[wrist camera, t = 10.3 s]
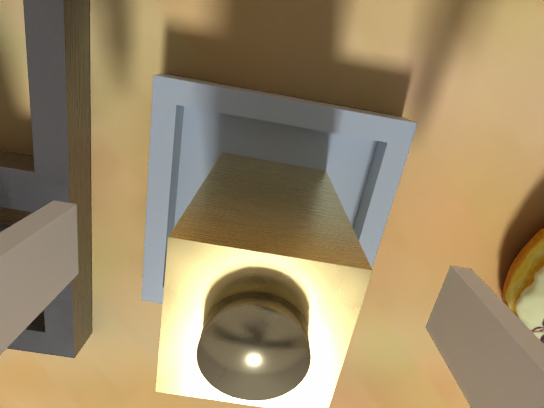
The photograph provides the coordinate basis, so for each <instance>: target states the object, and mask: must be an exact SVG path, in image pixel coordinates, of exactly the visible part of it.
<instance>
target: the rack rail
mask: <svg viewBox="0 0 544 408" xmlns="http://www.w3.org/2000/svg"><path fill="white" fill-rule="evenodd" d="M23 4H24V19H25V34H26V49H27V64H28V79H29V94H30V109H31V124H32V139H33V154H34V157H33V156H27V155H21V154H15V153H9V152H3V151H0V207H3V208H9V209H15V210H21V211H27V212H35V211H37V210H39V209H40V208H42V207H44V206H45V205H47V204H49V203H50V202H52V201H54V200H55V201H61V202H67V203H73V204H77V234H78V275H77V276H76V277H75V278H74V279H73V280H72V281H71V282H70V283H69V284H68V285H67V286H66V287H65V288H64V289H63V290H62V291H61V292H60V293H59V294H58V295H57V296H56V297H55V299H54V300H53V301H52V302H51V303H50V304H49V305H48V306H47V307H46V308H45V309H44V310H43V311H42V312H41V313H40V314H39V315H38V316H37V317H36V318H35V319H34V320H33V321H32V322H31V323H30V324H29V326H28V327H27V328H26V329H25V330H24V331H23V332H22V333H21V334H20V335H19V336H18V337H17V338H16V339H15V340H14V341H13V342H12V343H11V344H10V345H9V346H8V347H7V348H8V349H15V350H22V351H29V352H36V353H43V354H50V355H57V356H64V357H71V358H75V357H76V355H77V354H78V352H79V351H80V349H81V348H82V347H83V345H84V344H85V342H86V341H87V339H88V338H89V337H90V335H91V334H92V263H91V140H90V16H89V0H23Z"/></svg>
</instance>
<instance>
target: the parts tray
mask: <svg viewBox="0 0 544 408" xmlns="http://www.w3.org/2000/svg"><path fill="white" fill-rule="evenodd" d="M417 124H418V123H416V122H413V121H411V120H408V119H406V118H403V117H399V116H394V115H388V114H383V113H377V112H372V111H366V110H361V109H356V108H350V107H345V106H339V105H334V104H328V103H323V102H317V101H312V100H306V99H301V98H296V97H290V96H285V95H279V94H274V93H268V92H263V91H257V90H252V89H247V88H241V87H236V86H230V85H225V84H219V83H214V82H208V81H203V80H197V79H192V78H187V77H181V76H176V75H170V74H161V75H153V94H152V113H151V132H150V151H149V171H148V190H147V209H146V228H145V247H144V267H143V286H142V301H148V302H155V303H162V304H163V294H164V281H165V269H166V256H167V244H168V236H169V235H170V233H171V232H172V230H173V229H174V227H175V225H176V224H177V222H178V221H179V219H180V218H181V216H182V215H183V213H184V211H185V210H186V208H187V207H188V205H189V204H190V202H191V201H192V199H193V197H194V196H195V194H196V193H197V191H198V190H199V188H200V187H201V185H202V183H203V182H204V180H205V179H206V177H207V176H208V174H209V173H210V171H211V169H212V168H213V166H214V165H215V163H216V162H217V160H218V159H219V157H220V155H221V154H222V152H223V153H229V154H234V155H240V156H246V157H252V158H257V159H263V160H269V161H274V162H280V163H286V164H291V165H297V166H303V167H308V168H314V169H320V170H325V171H326V172H327V174H328V176H329V178H330V180H331V182H332V185H333V187H334V189H335V191H336V193H337V195H338V197H339V199H340V202H341V204H342V206H343V208H344V210H345V212H346V214H347V217H348V219H349V221H350V223H351V225H352V227H353V229H354V232H355V234H356V236H357V238H358V240H359V242H360V244H361V247H362V249H363V251H364V253H365V255H366V257H367V259H368V262H369V264H370V266H371V268H372V266H373V263H374V260H375V257H376V254H377V251H378V247H379V244H380V241H381V238H382V235H383V232H384V229H385V225H386V222H387V219H388V216H389V213H390V210H391V206H392V203H393V200H394V197H395V194H396V191H397V187H398V184H399V181H400V178H401V175H402V172H403V169H404V165H405V162H406V159H407V156H408V153H409V150H410V146H411V143H412V140H413V137H414V134H415V131H416V128H417Z"/></svg>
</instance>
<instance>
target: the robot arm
mask: <svg viewBox="0 0 544 408" xmlns="http://www.w3.org/2000/svg"><path fill="white" fill-rule="evenodd" d="M77 275H78V234H77V204H73V203H67V202H61V201H55V200H54V201H52V202H50V203H49V204H47V205H45V206H44V207H42V208H40V209H39V210H37V211H35V212H33V213H32V214H30V215H28V216H27V217H25V218H23V219H22V220H20V221H18V222H17V223H15V224H13V225H12V226H10V227H8V228H7V229H5V230H3V231H2V232H0V355H1V354H2V353H3V352H4V350H5V349H6V348H7V347H8V346H9V345H10V344H11V343H12V342H13V341H14V340H15V339H16V338H17V337H18V336H19V335H20V334H21V333H22V332H23V331H24V330H25V329H26V328H27V327H28V326H29V324H30V323H31V322H32V321H33V320H34V319H35V318H36V317H37V316H38V315H39V314H40V313H41V312H42V311H43V310H44V309H45V308H46V307H47V306H48V305H49V304H50V303H51V302H52V301H53V300H54V299H55V297H56V296H57V295H58V294H59V293H60V292H61V291H62V290H63V289H64V288H65V287H66V286H67V285H68V284H69V283H70V282H71V281H72V280H73V279H74V278H75V277H76V276H77ZM426 329H427V331H428V333H429V334H430V336H431V338H432V340H433V341H434V343H435V345H436V347H437V348H438V350H439V352H440V354H441V355H442V357H443V359H444V361H445V362H446V364H447V366H448V368H449V369H450V371H451V373H452V375H453V376H454V378H455V380H456V382H457V384H458V385H459V387H460V389H461V391H462V392H463V394H464V396H465V398H466V399H467V401H468V403H469V405H470V406H471V408H544V344H543V343H542V342H541V341H540V340H539V339H538V338H537V337H536V336H535V335H534V334H533V332H532V331H531V330H530V329H529V328H528V327H527V326H526V325H525V324H524V323H523V322H522V321H521V320H520V319H519V318H518V317H517V316H516V315H515V314H514V313H513V312H512V311H511V310H510V309H509V307H508V306H507V305H506V304H505V303H504V302H503V301H502V300H501V299H500V298H499V297H498V296H497V295H496V294H495V293H494V292H493V291H492V290H491V289H490V288H489V287H488V286H487V285H486V284H485V282H484V281H483V280H482V279H481V278H480V277H479V276H478V275H477V274H476V273H475V272H474V271H473V270H472V269H470V268H464V267H458V266H452V265H451V266H450V268H449V271H448V273H447V276H446V278H445V281H444V283H443V285H442V288H441V290H440V293H439V295H438V298H437V300H436V303H435V305H434V308H433V310H432V312H431V315H430V317H429V320H428V322H427V325H426Z"/></svg>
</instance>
